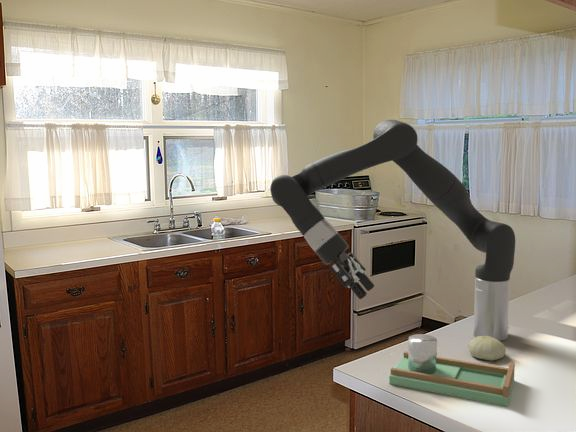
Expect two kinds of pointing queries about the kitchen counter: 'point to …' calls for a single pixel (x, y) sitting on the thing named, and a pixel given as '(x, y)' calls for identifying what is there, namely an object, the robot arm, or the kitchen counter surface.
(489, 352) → the sea urchin shell
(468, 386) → the green railed board
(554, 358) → the kitchen counter surface
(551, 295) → the kitchen counter surface
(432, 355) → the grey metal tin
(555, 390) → the kitchen counter surface
